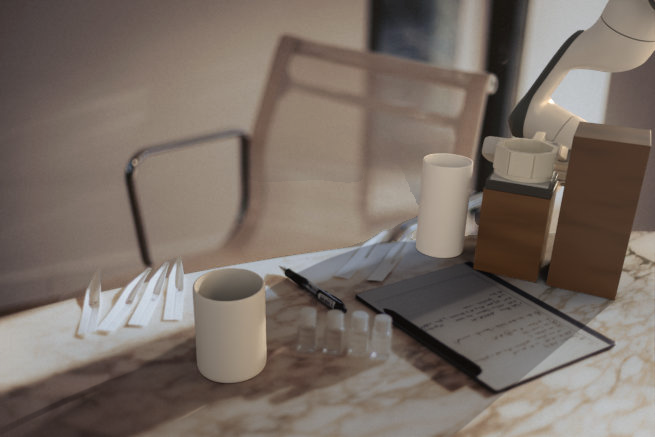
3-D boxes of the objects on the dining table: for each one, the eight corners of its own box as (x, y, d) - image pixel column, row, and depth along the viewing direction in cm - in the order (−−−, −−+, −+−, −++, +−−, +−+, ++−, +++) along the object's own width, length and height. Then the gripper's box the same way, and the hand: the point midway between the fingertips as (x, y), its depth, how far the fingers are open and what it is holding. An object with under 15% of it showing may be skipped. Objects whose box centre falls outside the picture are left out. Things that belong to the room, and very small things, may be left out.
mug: (277, 373, 75) (276, 293, 71) (207, 391, 72) (202, 309, 67) (245, 323, 85) (242, 251, 81) (182, 337, 82) (177, 262, 77)
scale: (497, 170, 105) (499, 160, 104) (557, 180, 101) (559, 169, 100) (485, 188, 96) (486, 177, 96) (549, 199, 93) (551, 188, 92)
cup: (437, 262, 104) (447, 171, 97) (405, 244, 110) (412, 157, 104) (472, 251, 108) (484, 163, 102) (440, 234, 114) (449, 150, 108)
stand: (486, 245, 110) (504, 112, 101) (617, 272, 102) (650, 129, 93) (472, 269, 102) (491, 125, 92) (614, 300, 93) (651, 146, 84)
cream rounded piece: (513, 143, 114) (517, 119, 112) (565, 150, 111) (569, 125, 109) (488, 176, 96) (492, 148, 94) (548, 186, 92) (554, 157, 91)
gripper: (490, 141, 125) (481, 119, 112) (599, 156, 117) (602, 135, 104) (483, 171, 124) (473, 153, 112) (592, 188, 116) (595, 171, 104)
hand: (536, 144), depth 108 cm, fingers open, 5 cm apart
